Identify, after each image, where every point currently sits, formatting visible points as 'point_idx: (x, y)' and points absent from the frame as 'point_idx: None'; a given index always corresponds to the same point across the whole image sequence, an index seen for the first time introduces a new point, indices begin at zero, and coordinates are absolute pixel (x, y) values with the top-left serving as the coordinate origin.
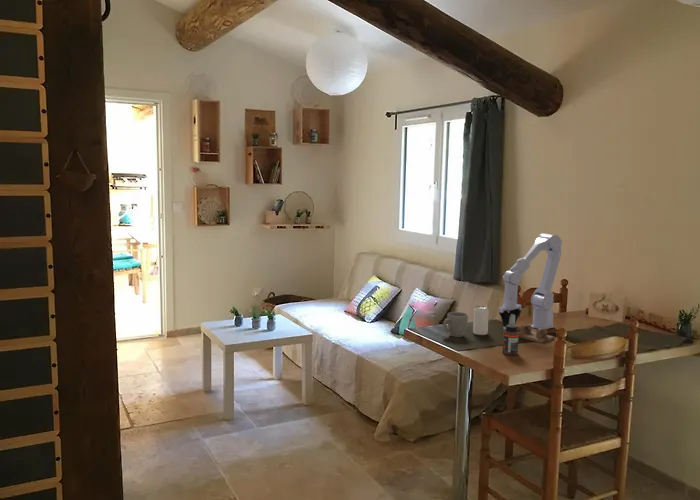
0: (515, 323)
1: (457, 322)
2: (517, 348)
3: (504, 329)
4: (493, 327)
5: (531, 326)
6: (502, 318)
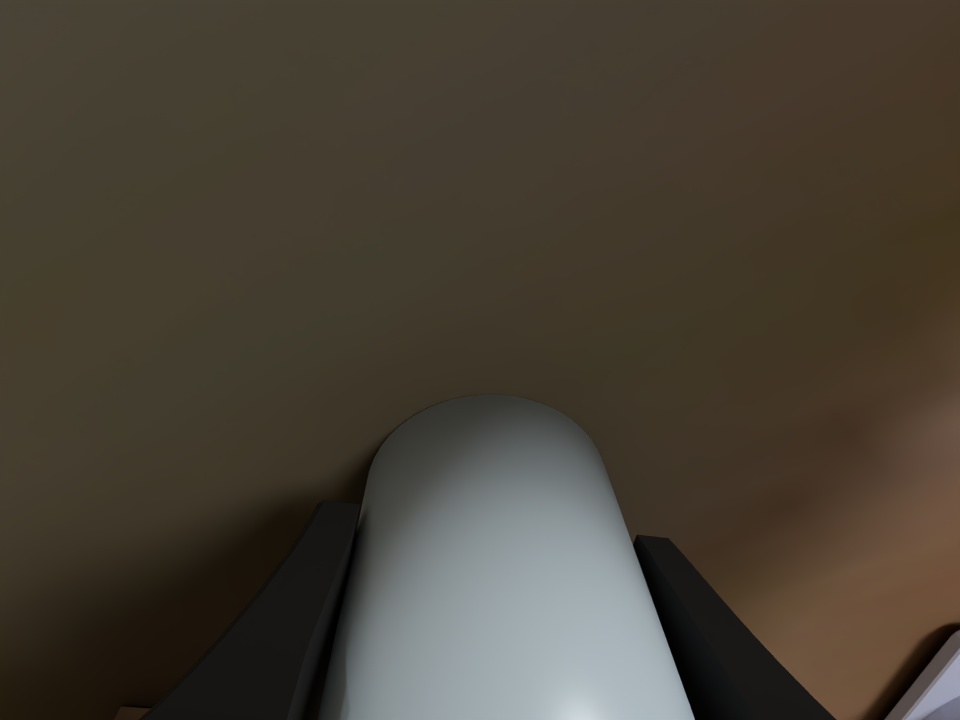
0: None
1: None
2: None
3: (377, 459)
4: (387, 138)
5: (929, 681)
6: (198, 705)
